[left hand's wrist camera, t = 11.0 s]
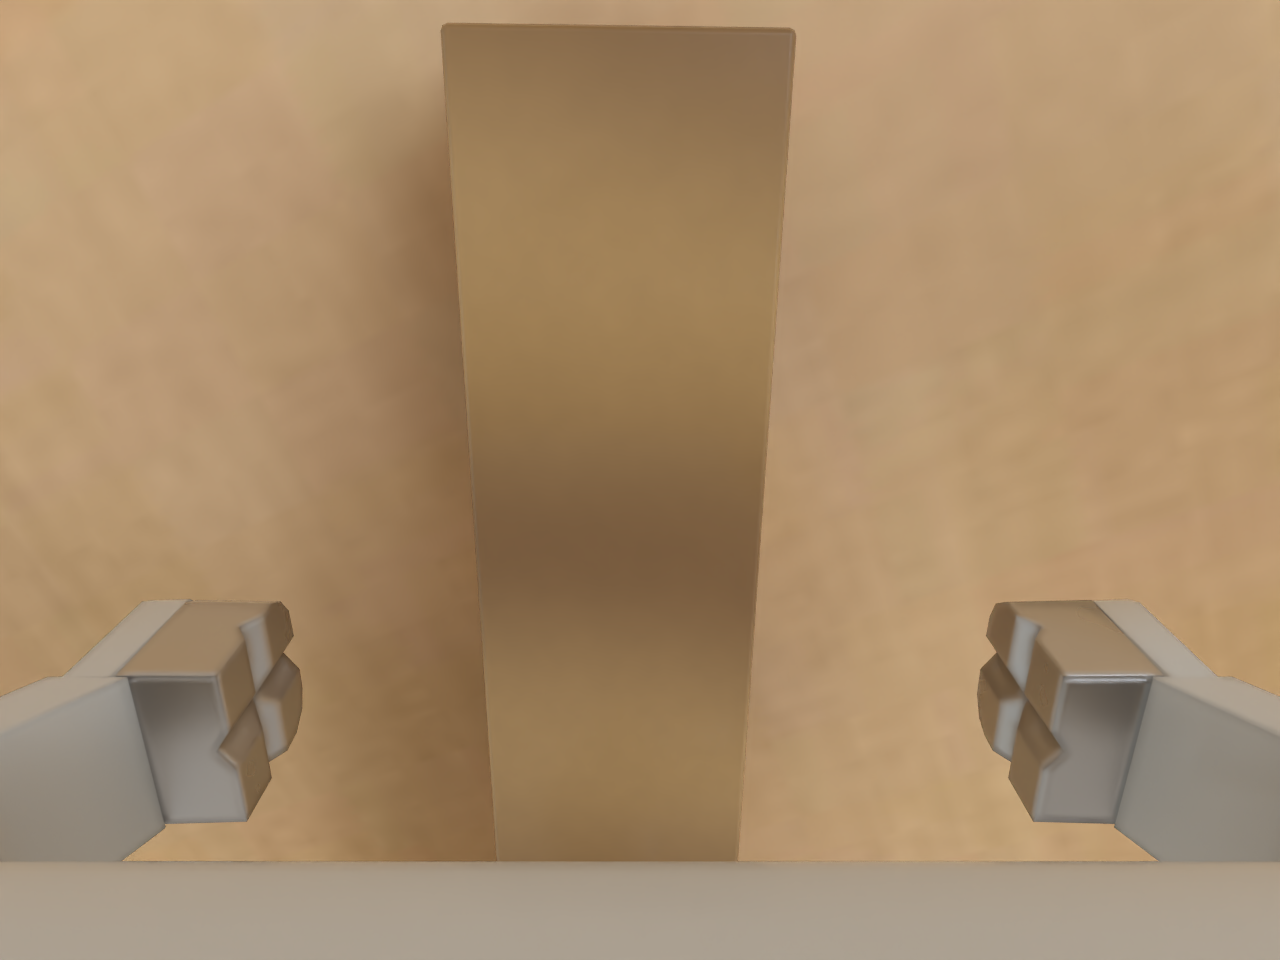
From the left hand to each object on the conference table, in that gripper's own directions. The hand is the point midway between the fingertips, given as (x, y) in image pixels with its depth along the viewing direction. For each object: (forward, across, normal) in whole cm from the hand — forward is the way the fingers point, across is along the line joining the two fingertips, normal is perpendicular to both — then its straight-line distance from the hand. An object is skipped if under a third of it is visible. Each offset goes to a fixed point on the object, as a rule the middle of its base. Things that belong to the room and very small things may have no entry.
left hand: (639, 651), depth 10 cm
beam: (+10, -1, -18) cm, 21 cm away
